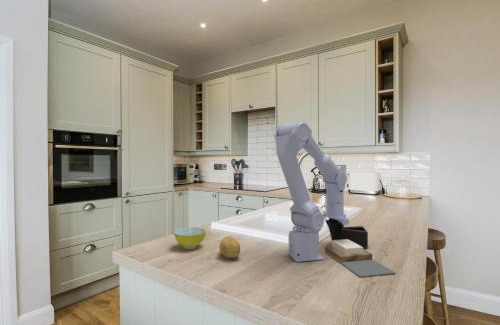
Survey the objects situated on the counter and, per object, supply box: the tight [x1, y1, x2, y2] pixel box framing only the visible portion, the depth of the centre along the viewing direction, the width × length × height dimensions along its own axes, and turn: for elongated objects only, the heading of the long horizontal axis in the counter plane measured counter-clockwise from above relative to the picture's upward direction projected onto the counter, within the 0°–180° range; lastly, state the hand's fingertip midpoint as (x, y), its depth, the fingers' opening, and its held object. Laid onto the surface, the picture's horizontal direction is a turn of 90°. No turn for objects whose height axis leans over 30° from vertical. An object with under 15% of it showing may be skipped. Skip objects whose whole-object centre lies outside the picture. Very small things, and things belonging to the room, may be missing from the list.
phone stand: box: [330, 225, 369, 250], centre depth 102 cm, size 9×6×12 cm
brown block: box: [324, 245, 373, 264], centre depth 89 cm, size 11×10×2 cm
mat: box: [340, 259, 397, 279], centre depth 79 cm, size 11×10×1 cm
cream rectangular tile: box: [331, 239, 363, 255], centre depth 90 cm, size 6×9×2 cm, turn 11°
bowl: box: [173, 226, 207, 251], centre depth 99 cm, size 11×12×6 cm
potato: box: [219, 236, 241, 259], centre depth 90 cm, size 7×11×6 cm, turn 10°
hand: (335, 240), depth 97 cm, fingers closed
